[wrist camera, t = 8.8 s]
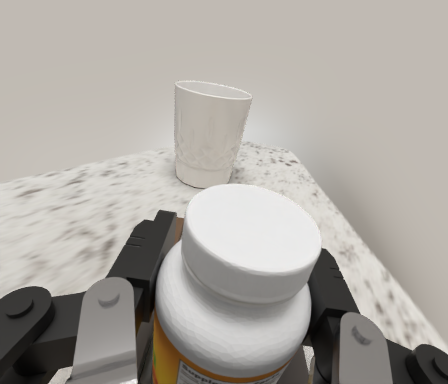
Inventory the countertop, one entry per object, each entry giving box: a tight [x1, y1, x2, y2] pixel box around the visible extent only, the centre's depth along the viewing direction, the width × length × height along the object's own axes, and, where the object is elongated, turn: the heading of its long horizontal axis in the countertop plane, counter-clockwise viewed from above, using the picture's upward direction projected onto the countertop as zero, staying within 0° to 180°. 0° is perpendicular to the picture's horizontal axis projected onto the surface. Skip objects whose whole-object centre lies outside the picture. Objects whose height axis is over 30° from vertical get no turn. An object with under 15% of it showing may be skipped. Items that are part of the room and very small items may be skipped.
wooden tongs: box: [136, 217, 309, 384], centre depth 12 cm, size 10×20×1 cm, turn 177°
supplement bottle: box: [152, 184, 322, 384], centre depth 9 cm, size 5×5×10 cm
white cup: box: [174, 81, 252, 189], centre depth 27 cm, size 8×8×10 cm
